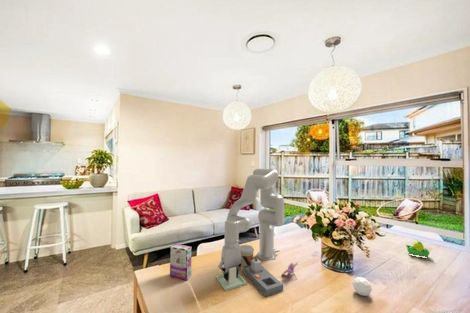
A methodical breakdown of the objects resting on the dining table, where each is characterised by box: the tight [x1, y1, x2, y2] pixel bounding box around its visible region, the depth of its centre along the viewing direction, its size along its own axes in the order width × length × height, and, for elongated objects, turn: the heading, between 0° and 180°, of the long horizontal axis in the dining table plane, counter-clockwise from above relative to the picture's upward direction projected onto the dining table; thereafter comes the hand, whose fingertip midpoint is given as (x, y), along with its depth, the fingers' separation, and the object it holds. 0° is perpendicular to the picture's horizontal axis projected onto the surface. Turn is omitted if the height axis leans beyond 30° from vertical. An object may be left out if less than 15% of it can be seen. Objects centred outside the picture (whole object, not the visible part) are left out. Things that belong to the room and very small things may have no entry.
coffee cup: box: [239, 244, 255, 271], centre depth 122 cm, size 9×9×12 cm
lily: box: [281, 261, 299, 280], centre depth 112 cm, size 12×12×10 cm
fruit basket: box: [405, 240, 431, 257], centre depth 140 cm, size 11×9×11 cm
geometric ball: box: [352, 276, 373, 297], centre depth 99 cm, size 8×8×8 cm
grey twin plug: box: [251, 256, 262, 274], centre depth 113 cm, size 4×4×10 cm
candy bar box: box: [169, 243, 193, 281], centre depth 113 cm, size 11×5×16 cm, turn 70°
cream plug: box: [227, 266, 236, 284], centre depth 108 cm, size 4×4×10 cm
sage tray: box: [216, 272, 247, 292], centre depth 108 cm, size 12×12×2 cm
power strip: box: [243, 265, 284, 297], centre depth 108 cm, size 22×10×4 cm, turn 26°
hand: (231, 277), depth 108 cm, fingers open, 5 cm apart
